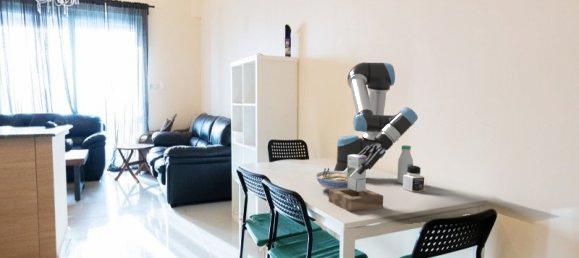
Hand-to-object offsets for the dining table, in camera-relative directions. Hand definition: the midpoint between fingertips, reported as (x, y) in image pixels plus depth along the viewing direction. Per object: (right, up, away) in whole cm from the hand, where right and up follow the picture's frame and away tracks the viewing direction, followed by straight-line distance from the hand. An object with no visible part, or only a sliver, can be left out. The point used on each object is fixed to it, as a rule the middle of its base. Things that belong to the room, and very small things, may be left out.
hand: (348, 176), depth 148 cm
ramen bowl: (-1, -10, +24) cm, 27 cm away
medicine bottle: (+37, -11, +29) cm, 48 cm away
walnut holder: (+3, -12, +2) cm, 12 cm away
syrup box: (+3, -6, +1) cm, 7 cm away
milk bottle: (+37, -9, +44) cm, 59 cm away
